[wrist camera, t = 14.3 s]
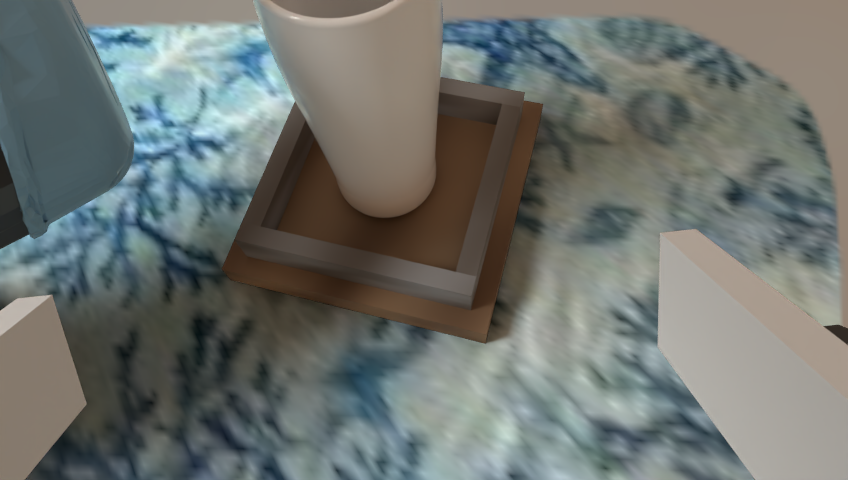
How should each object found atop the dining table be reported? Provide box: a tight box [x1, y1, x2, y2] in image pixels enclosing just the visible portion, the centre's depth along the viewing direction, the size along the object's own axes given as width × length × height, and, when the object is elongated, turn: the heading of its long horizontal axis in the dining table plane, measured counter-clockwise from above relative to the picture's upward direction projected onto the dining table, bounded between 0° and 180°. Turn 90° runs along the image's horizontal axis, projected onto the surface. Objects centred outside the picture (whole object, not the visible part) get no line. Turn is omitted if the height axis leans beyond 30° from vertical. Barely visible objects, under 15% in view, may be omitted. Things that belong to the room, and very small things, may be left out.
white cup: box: [253, 0, 443, 218], centre depth 29 cm, size 7×7×15 cm
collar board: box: [222, 77, 543, 343], centre depth 35 cm, size 14×14×4 cm
